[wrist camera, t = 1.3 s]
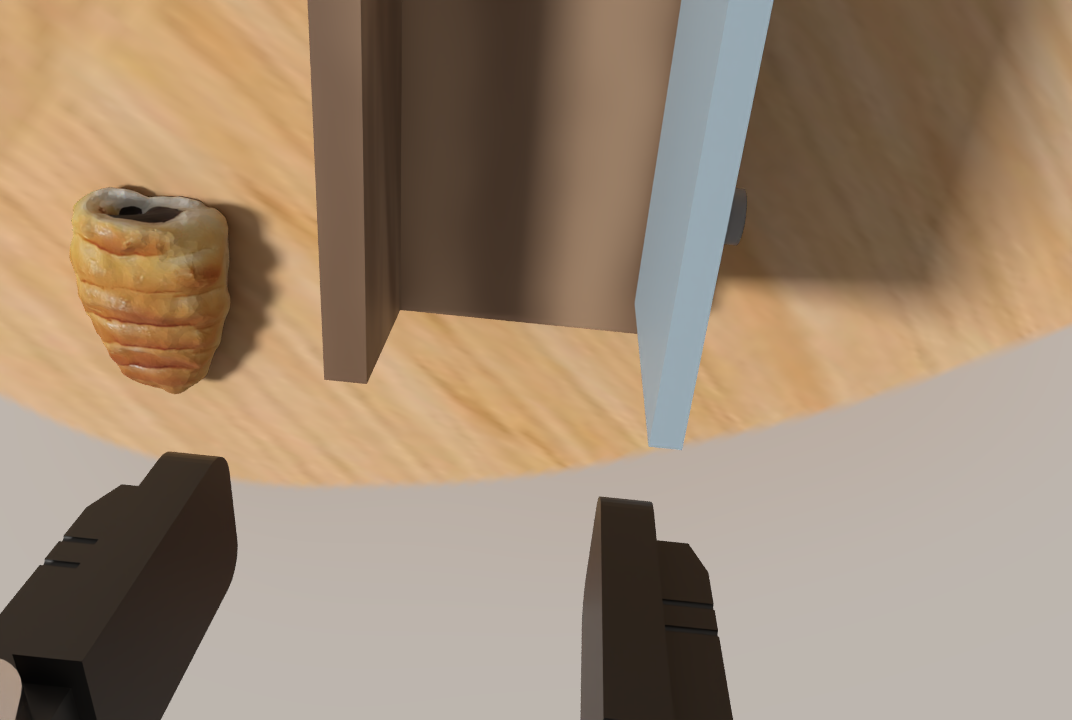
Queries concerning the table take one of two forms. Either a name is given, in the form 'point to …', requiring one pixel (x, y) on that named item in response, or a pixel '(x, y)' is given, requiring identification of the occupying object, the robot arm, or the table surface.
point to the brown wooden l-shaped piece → (482, 161)
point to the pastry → (153, 282)
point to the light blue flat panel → (694, 199)
